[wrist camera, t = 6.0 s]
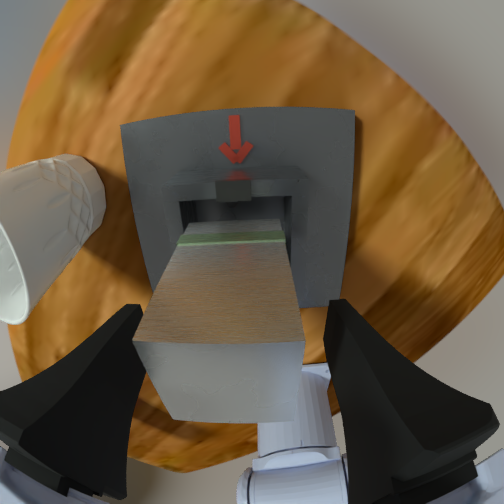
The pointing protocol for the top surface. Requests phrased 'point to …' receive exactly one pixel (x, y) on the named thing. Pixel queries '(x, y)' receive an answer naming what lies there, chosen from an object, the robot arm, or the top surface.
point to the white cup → (43, 226)
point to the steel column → (225, 326)
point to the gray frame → (247, 184)
